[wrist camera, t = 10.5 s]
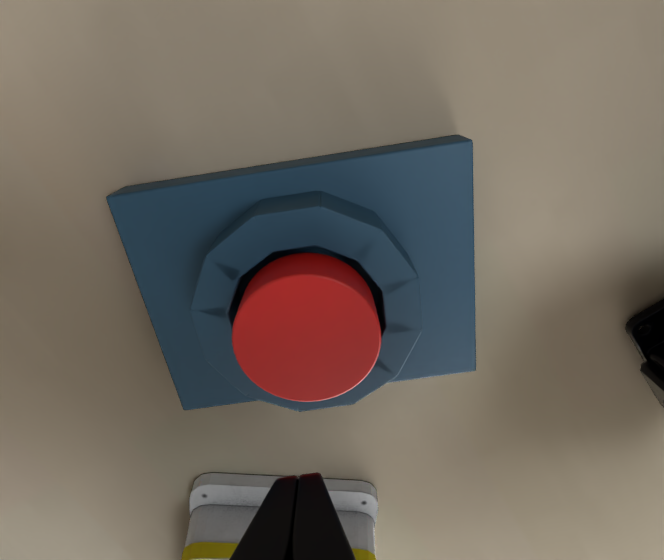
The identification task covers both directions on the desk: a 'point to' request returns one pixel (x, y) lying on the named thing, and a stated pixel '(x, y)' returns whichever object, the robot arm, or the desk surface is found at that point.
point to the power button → (307, 328)
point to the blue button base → (309, 237)
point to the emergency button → (244, 501)
